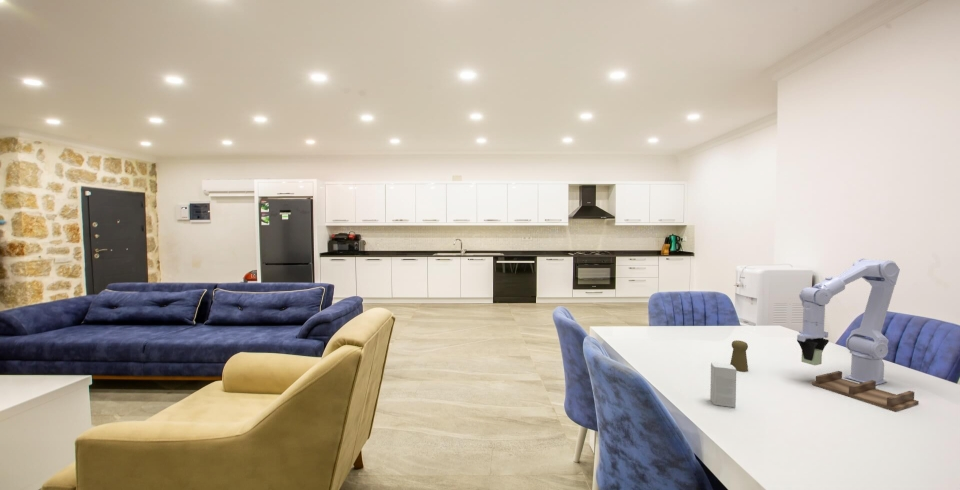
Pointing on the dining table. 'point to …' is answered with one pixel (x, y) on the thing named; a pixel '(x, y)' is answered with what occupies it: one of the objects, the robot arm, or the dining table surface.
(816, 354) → the sage block
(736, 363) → the cork
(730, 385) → the skincare box
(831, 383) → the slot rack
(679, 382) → the dining table surface
